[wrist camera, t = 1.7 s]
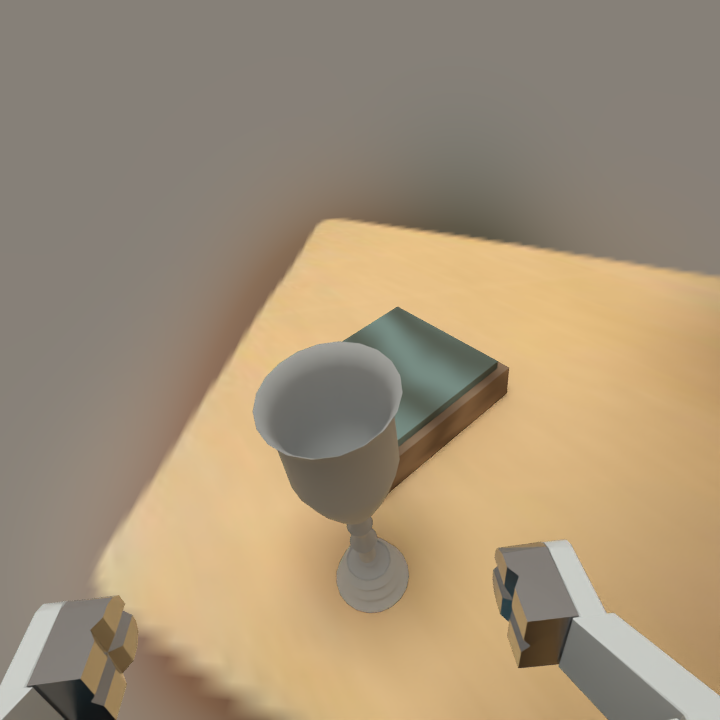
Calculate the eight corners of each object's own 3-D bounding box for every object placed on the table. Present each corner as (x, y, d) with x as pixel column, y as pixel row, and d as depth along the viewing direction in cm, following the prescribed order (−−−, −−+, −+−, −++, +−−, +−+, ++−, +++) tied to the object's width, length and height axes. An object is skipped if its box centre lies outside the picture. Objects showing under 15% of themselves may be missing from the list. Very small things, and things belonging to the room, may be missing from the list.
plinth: (400, 331, 54) (397, 301, 51) (506, 393, 45) (509, 360, 42) (280, 410, 47) (269, 381, 44) (376, 502, 38) (371, 471, 36)
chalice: (332, 524, 37) (275, 343, 25) (422, 527, 36) (406, 339, 24) (315, 627, 32) (231, 458, 20) (420, 635, 31) (397, 461, 19)
